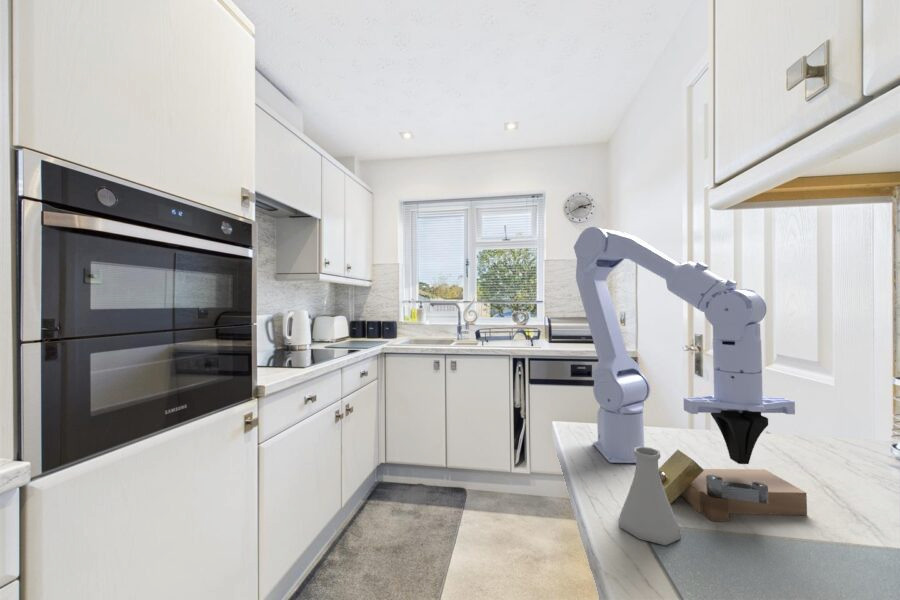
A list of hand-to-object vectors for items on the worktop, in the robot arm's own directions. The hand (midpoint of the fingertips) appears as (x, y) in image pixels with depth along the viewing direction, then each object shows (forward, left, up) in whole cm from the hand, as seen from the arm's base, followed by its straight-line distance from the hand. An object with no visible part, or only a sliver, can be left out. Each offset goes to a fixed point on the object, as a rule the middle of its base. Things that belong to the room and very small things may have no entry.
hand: (739, 461), depth 55 cm
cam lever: (+6, -5, -2) cm, 8 cm away
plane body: (+1, -1, -5) cm, 6 cm away
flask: (+8, -17, -6) cm, 20 cm away
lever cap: (0, -9, -3) cm, 9 cm away
